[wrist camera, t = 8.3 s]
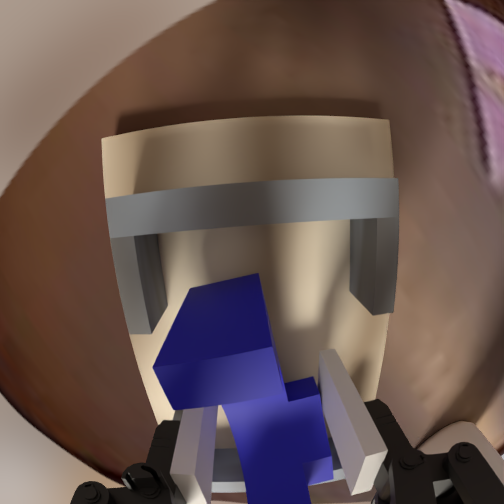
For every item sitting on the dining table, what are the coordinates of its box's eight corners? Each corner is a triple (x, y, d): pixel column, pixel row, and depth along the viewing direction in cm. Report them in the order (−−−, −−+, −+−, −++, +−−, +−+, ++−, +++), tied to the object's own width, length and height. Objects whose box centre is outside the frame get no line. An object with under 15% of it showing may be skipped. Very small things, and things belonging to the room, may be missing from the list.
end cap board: (376, 124, 14) (421, 107, 9) (352, 450, 19) (367, 489, 15) (113, 142, 13) (70, 129, 9) (184, 465, 19) (177, 507, 14)
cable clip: (323, 444, 15) (345, 519, 9) (252, 458, 15) (256, 535, 9) (293, 264, 12) (335, 330, 6) (189, 288, 12) (151, 367, 7)
